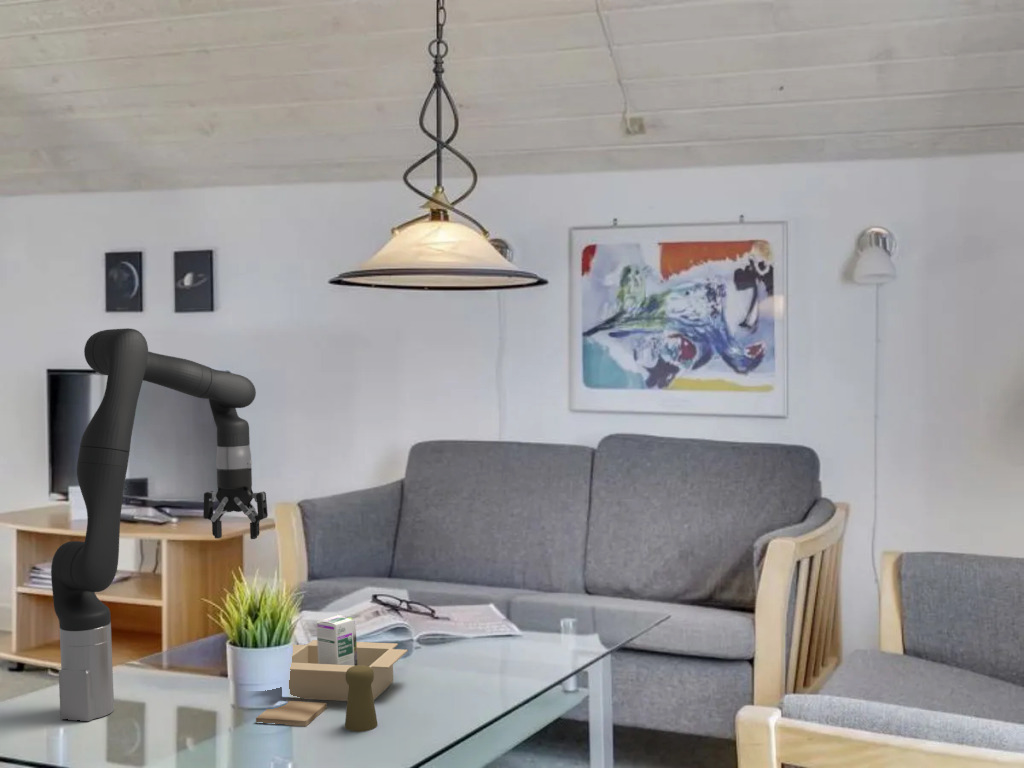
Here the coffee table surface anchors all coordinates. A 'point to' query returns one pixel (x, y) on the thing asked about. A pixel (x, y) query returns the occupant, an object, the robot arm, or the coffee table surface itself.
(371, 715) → the pepper shaker
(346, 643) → the syrup box
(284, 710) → the coaster
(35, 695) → the coffee table surface
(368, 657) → the carton
